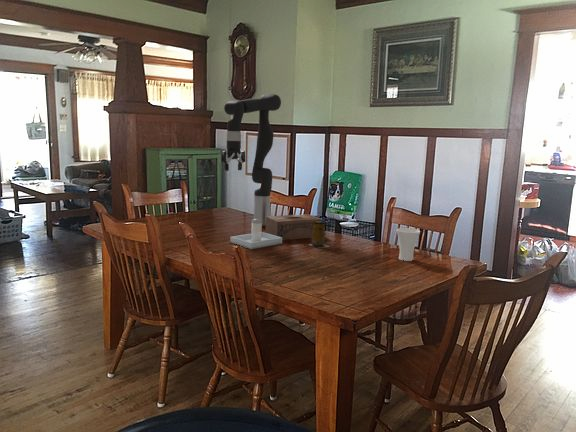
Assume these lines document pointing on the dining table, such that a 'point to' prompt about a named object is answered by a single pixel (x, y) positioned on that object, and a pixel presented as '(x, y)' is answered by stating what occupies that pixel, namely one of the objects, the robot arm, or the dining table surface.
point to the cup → (407, 242)
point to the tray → (265, 241)
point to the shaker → (256, 230)
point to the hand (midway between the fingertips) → (233, 170)
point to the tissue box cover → (291, 226)
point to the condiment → (318, 235)
